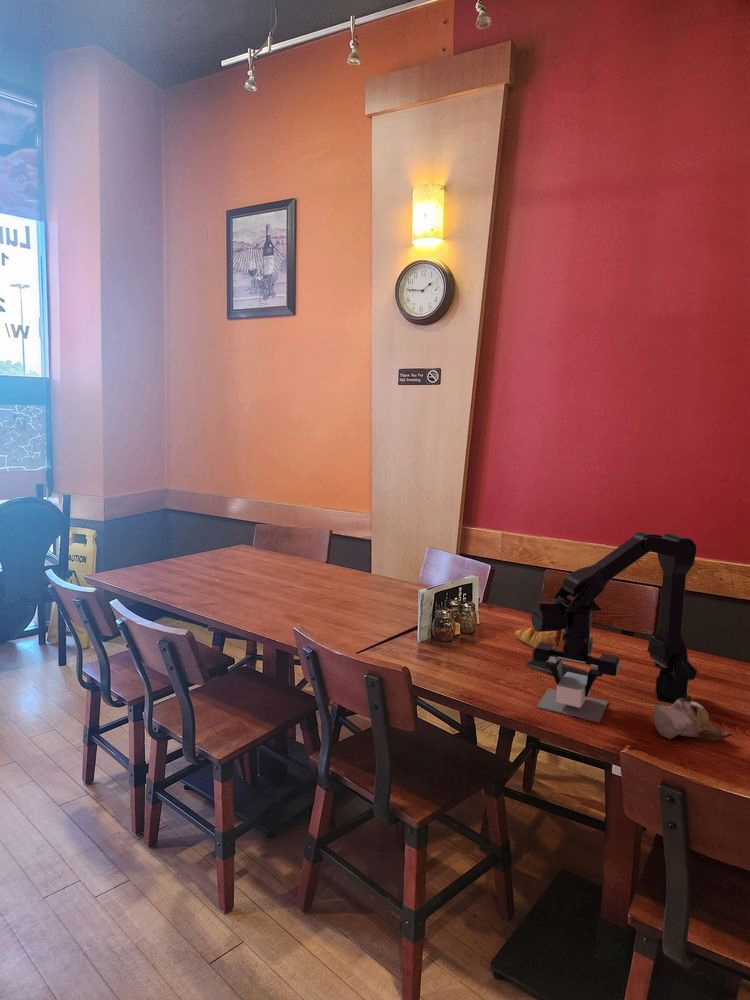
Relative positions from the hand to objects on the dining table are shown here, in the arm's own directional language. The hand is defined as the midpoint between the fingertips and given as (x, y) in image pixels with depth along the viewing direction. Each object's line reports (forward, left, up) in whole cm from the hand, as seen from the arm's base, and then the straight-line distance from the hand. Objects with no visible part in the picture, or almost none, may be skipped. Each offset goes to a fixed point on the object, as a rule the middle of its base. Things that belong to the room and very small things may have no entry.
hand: (573, 693), depth 152 cm
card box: (0, 0, -1) cm, 1 cm away
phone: (+8, -18, -4) cm, 20 cm away
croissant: (+14, -35, -4) cm, 38 cm away
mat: (0, 0, -3) cm, 3 cm away
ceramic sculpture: (-24, +2, -3) cm, 24 cm away
